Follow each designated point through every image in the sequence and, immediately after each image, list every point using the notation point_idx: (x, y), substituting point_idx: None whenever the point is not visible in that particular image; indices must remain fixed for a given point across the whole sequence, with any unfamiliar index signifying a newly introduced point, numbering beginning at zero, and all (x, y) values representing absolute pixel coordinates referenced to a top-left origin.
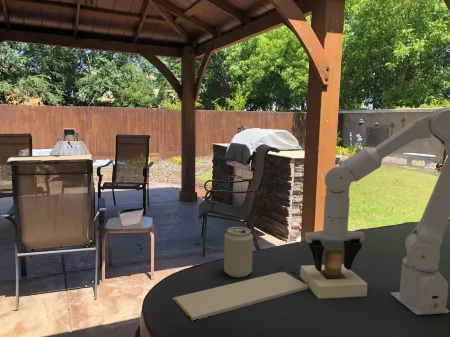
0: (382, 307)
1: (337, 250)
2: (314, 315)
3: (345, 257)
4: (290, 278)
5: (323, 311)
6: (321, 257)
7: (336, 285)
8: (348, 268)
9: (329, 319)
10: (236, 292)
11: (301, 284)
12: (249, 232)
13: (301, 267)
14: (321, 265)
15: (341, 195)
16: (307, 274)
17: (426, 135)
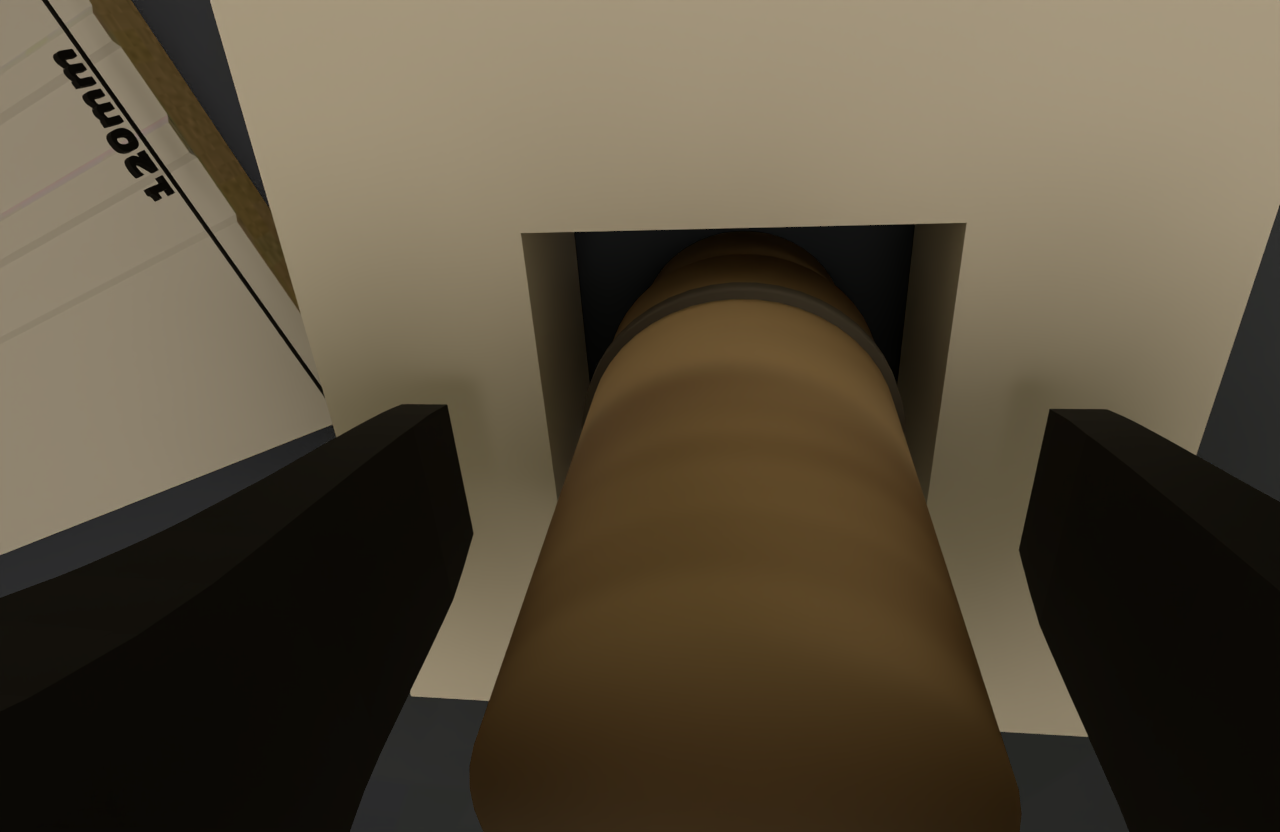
0: (1036, 783)
1: (889, 790)
2: (371, 776)
3: (1157, 567)
4: (123, 170)
5: (455, 749)
6: (333, 821)
7: None
8: (1033, 583)
9: (472, 826)
10: None
11: (282, 369)
12: None
13: (224, 4)
14: (427, 643)
15: None
16: (318, 336)
17: None
